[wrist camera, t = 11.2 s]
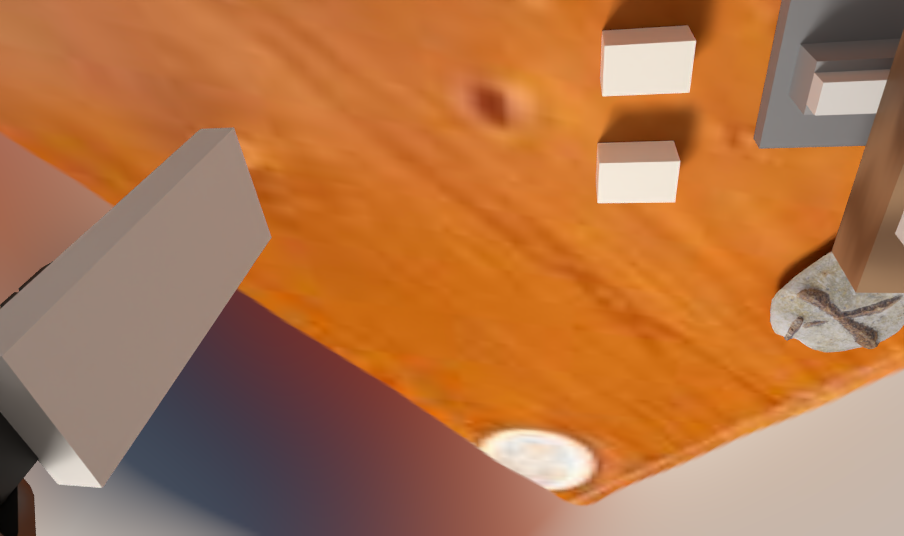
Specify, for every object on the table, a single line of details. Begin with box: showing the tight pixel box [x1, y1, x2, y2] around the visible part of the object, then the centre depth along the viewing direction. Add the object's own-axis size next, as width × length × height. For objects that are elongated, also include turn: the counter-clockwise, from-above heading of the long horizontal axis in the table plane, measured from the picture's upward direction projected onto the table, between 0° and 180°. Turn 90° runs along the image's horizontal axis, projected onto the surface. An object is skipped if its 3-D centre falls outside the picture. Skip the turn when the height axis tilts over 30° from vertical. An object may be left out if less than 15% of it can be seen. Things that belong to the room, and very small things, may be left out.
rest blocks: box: [596, 25, 696, 203], centre depth 39 cm, size 10×5×3 cm, turn 6°
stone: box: [770, 251, 904, 352], centre depth 44 cm, size 12×9×3 cm
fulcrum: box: [754, 0, 904, 148], centre depth 34 cm, size 10×12×6 cm
